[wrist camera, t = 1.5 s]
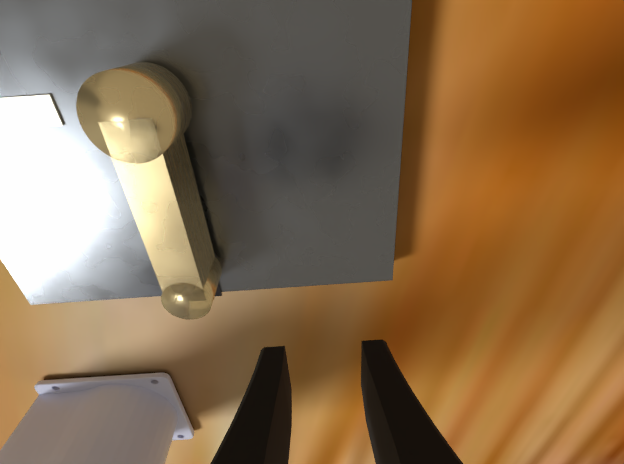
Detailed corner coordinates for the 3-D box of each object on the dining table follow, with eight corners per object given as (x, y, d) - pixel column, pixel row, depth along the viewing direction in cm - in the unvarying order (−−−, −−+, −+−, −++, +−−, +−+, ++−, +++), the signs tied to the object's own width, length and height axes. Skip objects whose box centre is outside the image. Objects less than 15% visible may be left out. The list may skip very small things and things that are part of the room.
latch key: (99, 65, 13) (59, 73, 11) (180, 58, 13) (156, 66, 11) (176, 286, 18) (160, 321, 16) (233, 282, 18) (224, 317, 16)
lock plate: (49, 289, 21) (31, 308, 19) (-269, -242, 10) (-358, -283, 9) (386, 266, 20) (392, 284, 19) (418, -302, 10) (438, -354, 9)
